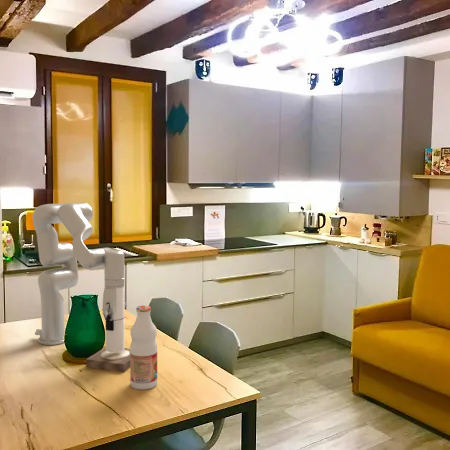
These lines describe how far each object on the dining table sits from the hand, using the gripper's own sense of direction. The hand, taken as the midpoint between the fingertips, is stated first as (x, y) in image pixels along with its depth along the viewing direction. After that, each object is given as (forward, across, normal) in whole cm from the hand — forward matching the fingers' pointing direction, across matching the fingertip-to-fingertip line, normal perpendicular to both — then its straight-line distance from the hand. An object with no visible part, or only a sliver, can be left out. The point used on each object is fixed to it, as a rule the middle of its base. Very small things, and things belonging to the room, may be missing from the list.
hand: (114, 327), depth 206 cm
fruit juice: (+14, +16, +20) cm, 29 cm away
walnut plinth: (+14, 0, 0) cm, 14 cm away
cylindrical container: (+9, 0, 0) cm, 9 cm away
